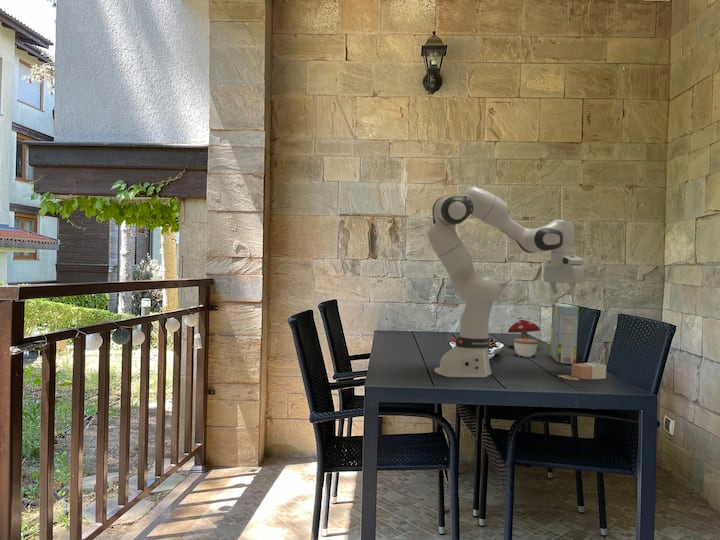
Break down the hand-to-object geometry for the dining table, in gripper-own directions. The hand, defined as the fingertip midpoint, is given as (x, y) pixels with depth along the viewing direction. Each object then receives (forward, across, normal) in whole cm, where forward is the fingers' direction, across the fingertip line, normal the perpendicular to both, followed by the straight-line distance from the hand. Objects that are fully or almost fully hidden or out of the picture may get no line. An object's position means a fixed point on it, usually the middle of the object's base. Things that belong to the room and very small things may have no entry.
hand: (562, 294), depth 207 cm
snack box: (+33, -26, +21) cm, 46 cm away
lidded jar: (+32, -38, +9) cm, 51 cm away
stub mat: (+32, +8, -3) cm, 33 cm away
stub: (+32, +8, +2) cm, 33 cm away
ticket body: (+32, +8, +8) cm, 34 cm away
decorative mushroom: (+33, -59, +22) cm, 71 cm away
